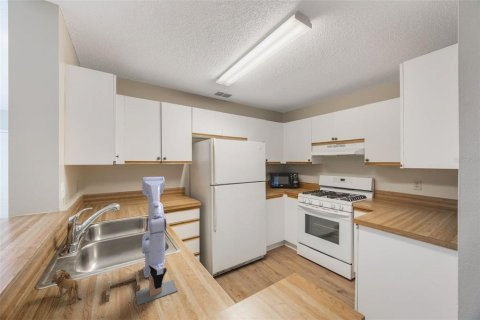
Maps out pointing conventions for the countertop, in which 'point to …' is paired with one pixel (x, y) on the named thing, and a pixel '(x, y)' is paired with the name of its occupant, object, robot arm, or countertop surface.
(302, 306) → the countertop surface
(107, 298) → the walnut cradle
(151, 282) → the terracotta block
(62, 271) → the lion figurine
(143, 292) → the slate mat
